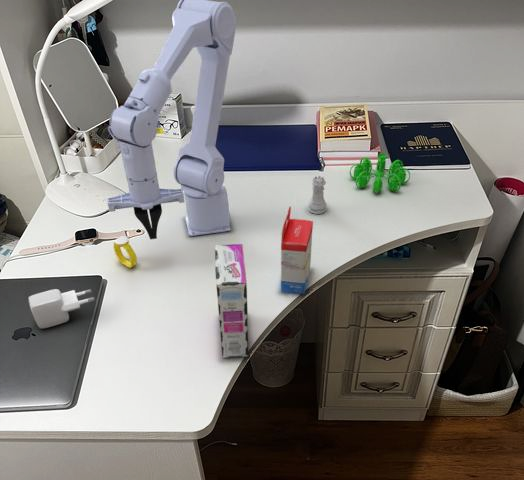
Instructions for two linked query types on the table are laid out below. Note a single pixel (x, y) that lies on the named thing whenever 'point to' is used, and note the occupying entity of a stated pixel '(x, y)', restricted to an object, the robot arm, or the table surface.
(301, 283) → the ink box
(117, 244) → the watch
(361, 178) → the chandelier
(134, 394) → the table surface
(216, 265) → the candy bar box
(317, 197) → the rook chess piece
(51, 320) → the power adapter
